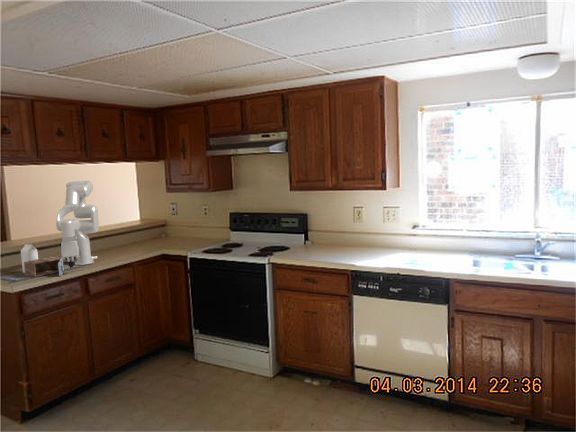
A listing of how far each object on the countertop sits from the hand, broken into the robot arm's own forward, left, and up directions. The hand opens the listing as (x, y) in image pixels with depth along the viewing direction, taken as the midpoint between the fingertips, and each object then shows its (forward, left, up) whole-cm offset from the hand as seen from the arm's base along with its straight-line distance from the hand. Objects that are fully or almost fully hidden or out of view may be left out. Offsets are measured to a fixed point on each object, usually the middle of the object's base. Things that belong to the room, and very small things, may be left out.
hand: (71, 267), depth 291 cm
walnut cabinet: (+7, -20, -4) cm, 22 cm away
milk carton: (+8, -34, -4) cm, 36 cm away
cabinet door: (+3, -6, -4) cm, 8 cm away
